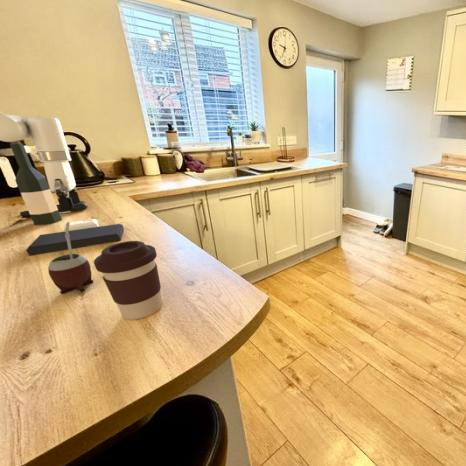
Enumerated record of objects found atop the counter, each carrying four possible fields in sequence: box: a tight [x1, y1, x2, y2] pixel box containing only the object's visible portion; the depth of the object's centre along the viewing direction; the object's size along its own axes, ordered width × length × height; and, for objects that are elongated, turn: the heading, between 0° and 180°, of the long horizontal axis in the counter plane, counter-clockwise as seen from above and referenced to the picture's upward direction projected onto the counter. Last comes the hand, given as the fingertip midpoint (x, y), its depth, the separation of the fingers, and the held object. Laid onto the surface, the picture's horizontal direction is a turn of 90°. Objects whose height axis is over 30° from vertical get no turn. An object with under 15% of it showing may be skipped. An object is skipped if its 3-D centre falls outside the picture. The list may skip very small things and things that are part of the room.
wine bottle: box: [9, 140, 63, 226], centre depth 107 cm, size 8×8×30 cm
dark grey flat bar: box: [26, 223, 125, 257], centre depth 95 cm, size 22×12×2 cm, turn 122°
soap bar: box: [63, 218, 99, 232], centre depth 105 cm, size 5×9×3 cm, turn 129°
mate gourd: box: [47, 221, 94, 295], centre depth 68 cm, size 8×8×15 cm
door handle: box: [19, 200, 88, 219], centre depth 124 cm, size 3×20×16 cm
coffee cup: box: [93, 240, 163, 321], centre depth 59 cm, size 10×10×15 cm
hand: (71, 206), depth 102 cm, fingers open, 9 cm apart
